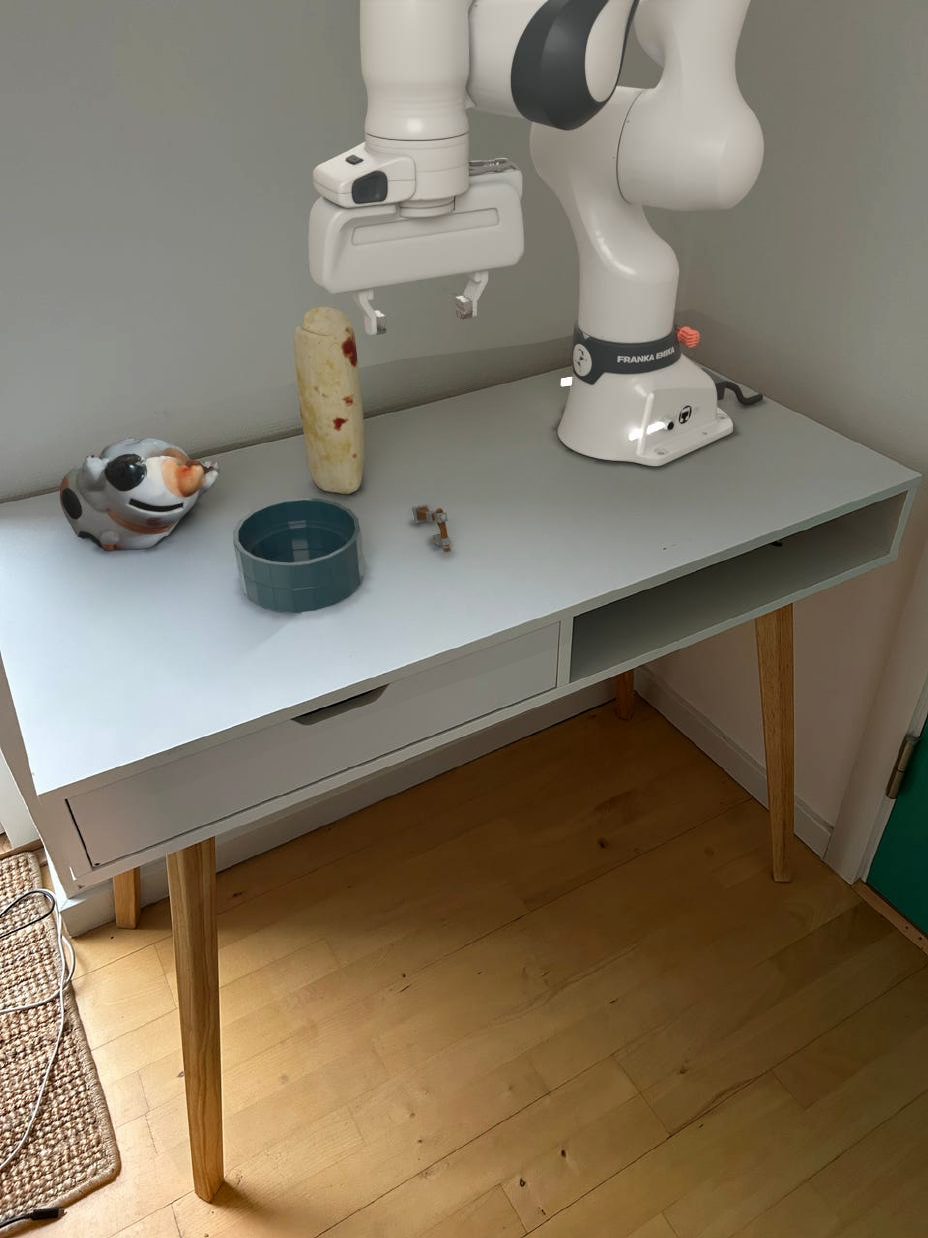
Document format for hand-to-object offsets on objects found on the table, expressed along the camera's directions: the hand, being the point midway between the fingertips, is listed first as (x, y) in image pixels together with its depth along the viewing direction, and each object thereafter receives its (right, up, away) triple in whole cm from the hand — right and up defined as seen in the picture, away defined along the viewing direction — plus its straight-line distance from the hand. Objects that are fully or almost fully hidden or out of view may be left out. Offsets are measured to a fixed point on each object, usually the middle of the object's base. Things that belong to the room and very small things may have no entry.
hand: (421, 324), depth 93 cm
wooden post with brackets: (+1, -19, +13) cm, 23 cm away
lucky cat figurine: (-30, -18, +15) cm, 38 cm away
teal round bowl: (-12, -24, +6) cm, 28 cm away
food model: (-11, -12, +23) cm, 28 cm away
